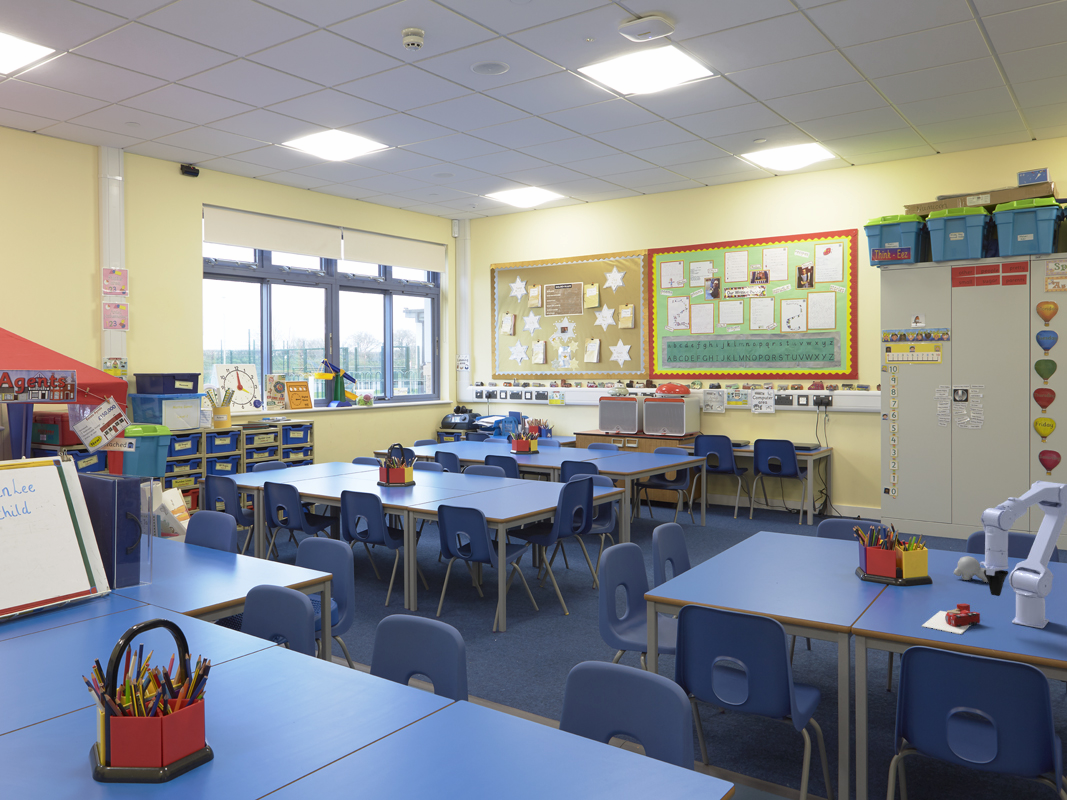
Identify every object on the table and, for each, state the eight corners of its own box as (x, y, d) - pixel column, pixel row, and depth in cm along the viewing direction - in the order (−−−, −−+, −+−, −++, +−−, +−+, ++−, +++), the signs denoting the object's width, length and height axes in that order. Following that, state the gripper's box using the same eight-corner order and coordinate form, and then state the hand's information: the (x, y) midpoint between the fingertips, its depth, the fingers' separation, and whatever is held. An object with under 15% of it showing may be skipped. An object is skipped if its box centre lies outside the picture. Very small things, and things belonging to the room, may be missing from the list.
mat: (940, 611, 239) (940, 610, 239) (977, 618, 231) (977, 617, 231) (921, 626, 225) (921, 625, 225) (960, 634, 218) (960, 633, 218)
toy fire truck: (955, 628, 223) (929, 618, 232) (990, 622, 227) (964, 613, 236) (954, 616, 223) (929, 607, 232) (990, 611, 227) (963, 602, 236)
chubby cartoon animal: (983, 592, 268) (993, 572, 265) (949, 574, 276) (959, 554, 273) (990, 587, 273) (999, 568, 270) (956, 570, 281) (966, 550, 278)
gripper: (987, 543, 229) (986, 587, 229) (974, 551, 218) (973, 597, 219) (1014, 547, 224) (1013, 592, 224) (1002, 555, 213) (1001, 602, 214)
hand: (995, 595), depth 221 cm, fingers closed
